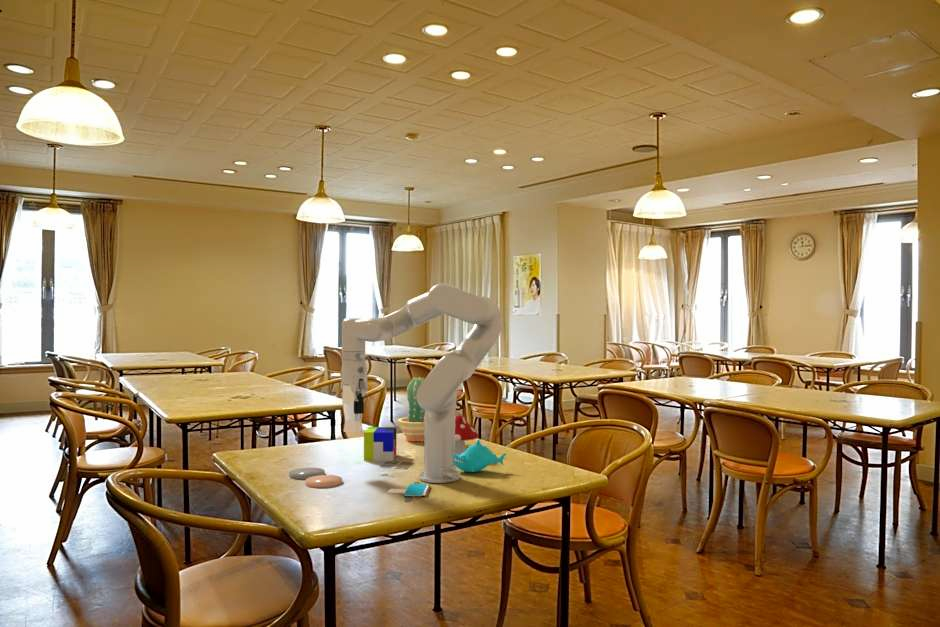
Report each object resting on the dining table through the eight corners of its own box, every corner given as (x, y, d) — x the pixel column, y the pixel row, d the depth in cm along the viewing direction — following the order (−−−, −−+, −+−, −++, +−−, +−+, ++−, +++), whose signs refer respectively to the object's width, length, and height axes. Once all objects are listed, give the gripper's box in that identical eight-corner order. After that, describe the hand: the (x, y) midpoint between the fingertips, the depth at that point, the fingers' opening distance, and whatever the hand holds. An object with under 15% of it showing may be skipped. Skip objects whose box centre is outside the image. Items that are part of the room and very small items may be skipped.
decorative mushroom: (472, 462, 228) (472, 419, 228) (434, 460, 232) (434, 417, 232) (482, 453, 242) (482, 412, 242) (446, 451, 245) (446, 411, 245)
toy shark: (451, 468, 220) (451, 436, 220) (505, 468, 220) (505, 436, 220) (450, 475, 210) (451, 442, 210) (507, 475, 211) (507, 442, 210)
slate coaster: (330, 475, 209) (330, 472, 209) (297, 481, 203) (297, 478, 203) (315, 468, 218) (315, 465, 218) (283, 474, 211) (283, 470, 211)
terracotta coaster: (348, 483, 200) (348, 480, 200) (314, 489, 193) (314, 486, 193) (332, 476, 209) (332, 473, 209) (299, 481, 202) (299, 478, 202)
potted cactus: (430, 444, 258) (430, 380, 258) (392, 442, 261) (392, 379, 261) (439, 436, 273) (440, 376, 273) (403, 435, 276) (404, 375, 276)
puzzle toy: (392, 461, 230) (392, 432, 230) (363, 460, 230) (363, 432, 230) (396, 454, 240) (396, 427, 240) (368, 454, 240) (368, 427, 240)
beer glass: (366, 429, 216) (366, 383, 216) (360, 433, 209) (360, 386, 209) (345, 428, 217) (345, 383, 217) (339, 432, 210) (339, 385, 210)
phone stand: (395, 483, 202) (395, 478, 202) (433, 484, 202) (434, 479, 202) (382, 503, 182) (382, 497, 182) (425, 504, 182) (425, 498, 182)
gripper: (377, 358, 208) (376, 414, 209) (351, 354, 222) (350, 407, 222) (355, 359, 204) (355, 416, 204) (330, 355, 217) (330, 409, 218)
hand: (353, 411), depth 213 cm, fingers closed on beer glass, 6 cm apart
